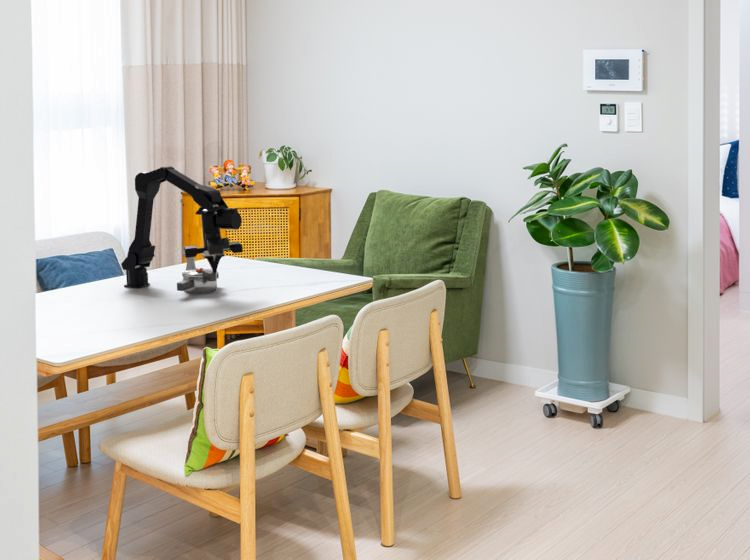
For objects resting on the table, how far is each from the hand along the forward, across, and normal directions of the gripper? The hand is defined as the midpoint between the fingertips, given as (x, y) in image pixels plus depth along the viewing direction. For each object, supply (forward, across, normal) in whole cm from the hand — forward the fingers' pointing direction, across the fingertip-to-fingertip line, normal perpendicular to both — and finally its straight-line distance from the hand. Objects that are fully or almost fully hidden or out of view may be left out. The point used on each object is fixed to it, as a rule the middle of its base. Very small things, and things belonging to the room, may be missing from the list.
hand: (214, 275), depth 312 cm
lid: (+1, -3, +5) cm, 6 cm away
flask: (+7, -5, +19) cm, 21 cm away
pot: (+6, -5, +7) cm, 11 cm away
